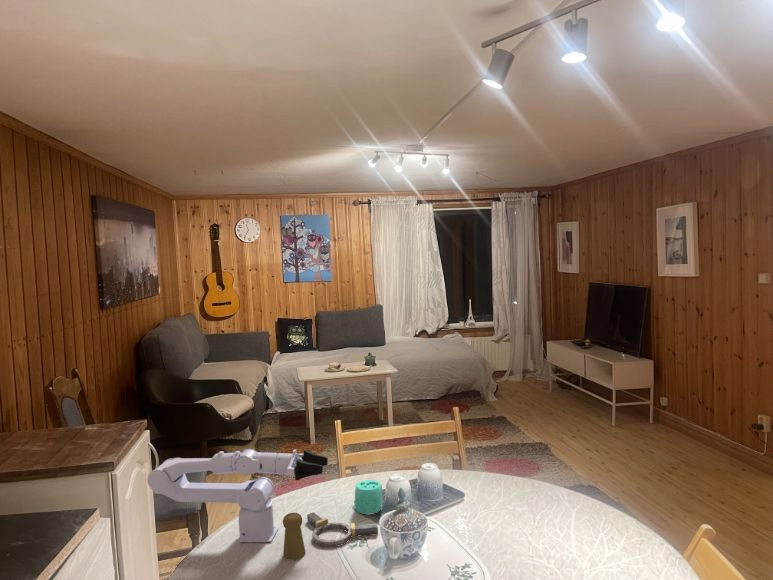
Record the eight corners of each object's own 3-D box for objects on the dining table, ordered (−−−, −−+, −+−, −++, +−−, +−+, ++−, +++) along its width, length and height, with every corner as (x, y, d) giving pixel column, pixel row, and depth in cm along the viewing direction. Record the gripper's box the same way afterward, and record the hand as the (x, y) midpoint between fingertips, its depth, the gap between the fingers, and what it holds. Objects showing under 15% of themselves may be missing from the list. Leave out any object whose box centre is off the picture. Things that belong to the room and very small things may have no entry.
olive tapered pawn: (301, 560, 149) (298, 520, 148) (279, 559, 150) (277, 519, 149) (308, 548, 155) (306, 510, 154) (288, 547, 156) (285, 509, 155)
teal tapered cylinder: (358, 504, 181) (356, 479, 181) (382, 503, 181) (381, 479, 180) (355, 515, 173) (354, 490, 173) (381, 515, 173) (380, 489, 173)
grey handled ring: (296, 547, 156) (296, 538, 156) (308, 519, 172) (308, 511, 172) (376, 546, 155) (375, 537, 154) (380, 518, 171) (380, 510, 170)
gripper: (271, 456, 154) (320, 459, 153) (285, 442, 169) (329, 444, 167) (270, 482, 154) (319, 484, 153) (284, 466, 169) (329, 468, 167)
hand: (324, 465), depth 160 cm, fingers open, 7 cm apart
